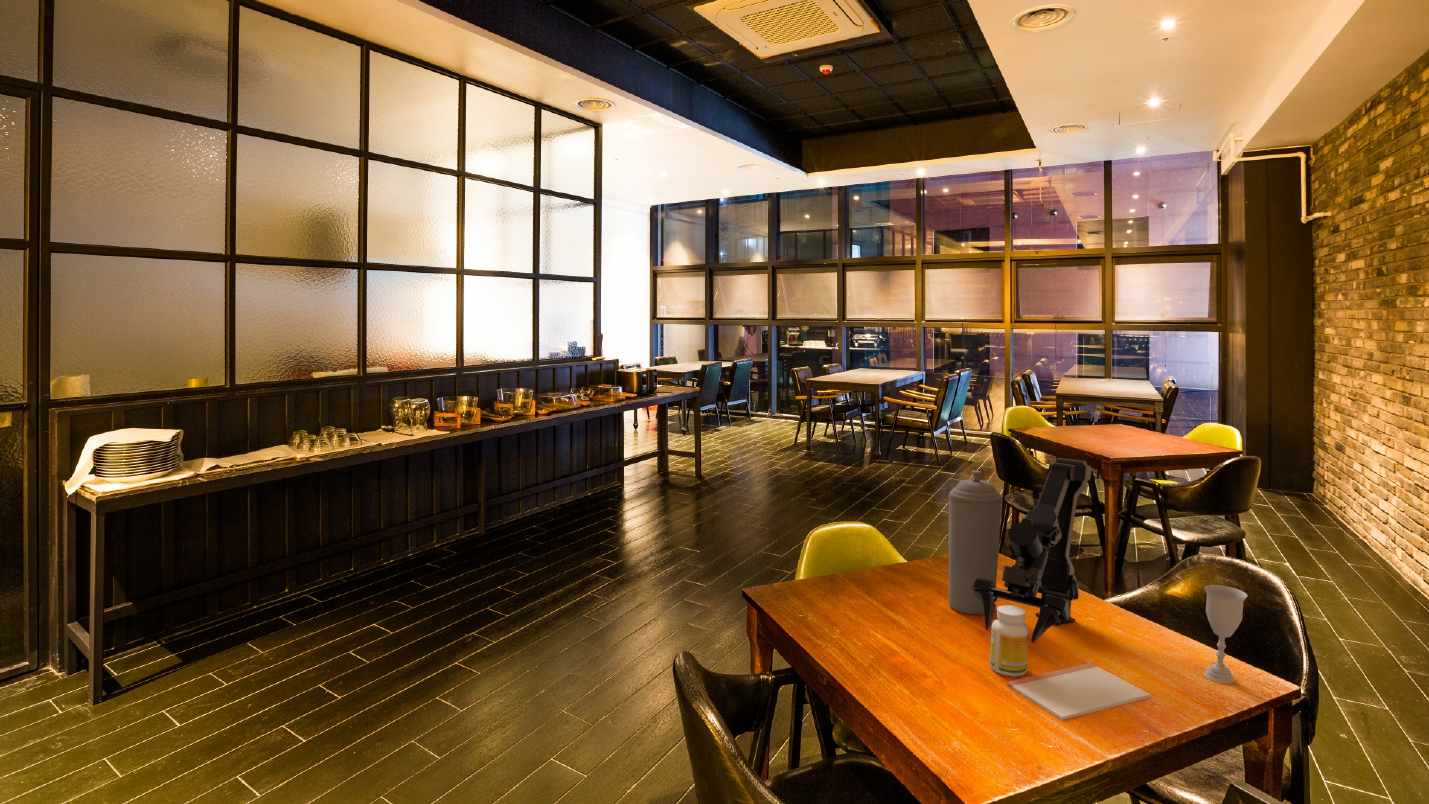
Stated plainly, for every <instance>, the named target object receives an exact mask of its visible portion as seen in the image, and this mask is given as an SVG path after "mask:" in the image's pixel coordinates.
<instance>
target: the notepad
mask: <svg viewBox="0 0 1429 804" xmlns="http://www.w3.org/2000/svg"><path fill="white" fill-rule="evenodd" d="M1006 685H1007V687H1009V688H1011V689H1012V688H1013V689H1012V690H1014V691H1016V692H1017V693H1019V694H1020V693H1021V694H1020V695H1022V696H1023V697H1025V698H1026V699H1028V700H1029V701H1030V702H1032V703H1034V704H1036V705H1037V706H1039V707H1040V708H1042V709H1043V710H1045V711H1047V712H1048V713H1049V714H1052V715H1053V716H1054V717H1056V718H1058V719H1059V720H1060V721H1063V720H1067V719H1068V720H1069V719H1072V718H1075V717H1079V716H1082V715H1087V714H1091V713H1095V712H1099V711H1102V710H1106V709H1110V708H1114V707H1117V706H1121V705H1126V704H1129V703H1133V702H1137V701H1141V700H1145V699H1149V698H1151V694H1150V693H1148V692H1146V691H1144V690H1143V689H1140V688H1139V687H1137V686H1136V685H1133V684H1131V683H1129V682H1127V681H1126V680H1123V679H1122V678H1120V677H1118V676H1116V675H1114V674H1112V673H1110V672H1108V671H1106V670H1104V669H1103V668H1101V667H1099V666H1097V665H1096V664H1094V663H1091V662H1089V663H1084V664H1080V665H1076V666H1071V667H1066V668H1062V669H1057V670H1054V671H1048V672H1044V673H1040V674H1037V675H1031V676H1027V677H1023V678H1018V679H1014V680H1010V681H1006Z"/></svg>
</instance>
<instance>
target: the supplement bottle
mask: <svg viewBox="0 0 1429 804" xmlns="http://www.w3.org/2000/svg"><path fill="white" fill-rule="evenodd" d="M996 617H997V618H996V619H994V620H992V622H991V629H990V630H991V631H990V632H991V633H990V649H989V650H990V651H989V665H990V668H991V670H992V671H994V672H995V673H998V674H999V675H1002V676H1007V677H1011V678H1012V677H1013V678H1018V676H1019V677H1021V676H1024V675H1025V674H1026V673H1027V671H1028V663H1029V662H1028V660H1029V642H1030V628H1029V626H1028V625H1027V624H1026V622H1025V621H1026V611H1025V609H1024V608H1021V607H1019V606H1017V605H1016V606H1015V605H1010V604H1006V605H1005V604H1004V605H1000V606H998V607H996Z"/></svg>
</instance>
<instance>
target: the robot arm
mask: <svg viewBox="0 0 1429 804" xmlns="http://www.w3.org/2000/svg"><path fill="white" fill-rule="evenodd" d="M1091 477H1092V467H1091V466H1090V465H1088V464H1087V461H1085V460H1079V459H1073V458H1062V457H1058V458H1057V460H1055V461H1049V462H1048V469H1047V477H1046V480H1045V482H1044V485H1043V488H1042V491H1041V494H1040V496H1039V499H1038V502H1037V504H1036V507H1034V508H1032V509H1031V510H1029V511H1028V512H1027V514H1026V515H1025V517H1022V520H1021V522H1018V523H1015V524H1013V525H1012V526H1010V528H1009V529H1008V531H1007V534H1008V535H1007V536H1008V537H1007V538H1008V539H1009V541H1010V544H1011V547H1012V549H1013V551H1014V554H1016V556H1017V557H1016V560H1015V563H1014V564H1012V566H1011V565H1010V566H1008V565H1003V571H1002V575H1001V581H1002V582H1004V583H1003V585H1004V587H1005V588H1007V589H1001V588H998V587H997V585H996V586H995V584H994V581H989V580H985V579H980V578H977V579H976V580H975V581H974V582H973V585H972V590H973V592H974V594H975V596H976V598H977V599H978V600H980V601H981V603H982V604H983V605H984V614H983V615H984V629H985V631H990V627H992V623H993V618H994V615H995V611H996V610H997V605H996V603H997V601H998V599H1002V600H1005V601H1010V602H1014V603H1019V604H1023V605H1026V606H1031V607H1035V608H1038V609H1039V612H1035V613H1034V614H1035V616H1036V617H1038V618H1037V621H1036V624H1035V627H1034V629H1033V630H1032V631H1033V632H1032V635H1031V639H1030V641H1031V643H1032V644H1035V643H1036V642H1037V640H1039V638H1041V636H1042V635H1043V634H1044V633H1045V632H1046V631H1047V630H1048V629H1049V628H1051V627H1053V625H1054V626H1059V625H1063V624H1064V625H1065V624H1069V623H1074V622H1076V620H1077V619H1075V618H1073V617H1072V616H1071V607H1072V602H1073V601H1074V600H1079V594H1080V593H1079V592H1080V591H1079V584H1078V580H1077V578H1076V575H1075V567H1074V564H1073V563H1072V561H1071V559H1070V549H1071V544H1072V537H1073V531H1074V530H1073V529H1074V522H1075V516H1076V509H1077V502H1078V498H1079V496H1081V494H1082V493H1083V492H1084V491H1085V490H1086V489H1087V485H1088V481H1090V480H1091ZM1043 546H1044V547H1047V548H1048V550H1046V549H1045V548H1044V547H1043ZM1038 594H1040V595H1041V597H1037V595H1038ZM994 602H995V603H994Z"/></svg>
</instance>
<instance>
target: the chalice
mask: <svg viewBox="0 0 1429 804" xmlns="http://www.w3.org/2000/svg"><path fill="white" fill-rule="evenodd" d="M1204 591H1205V592H1206V603H1205V604H1206V605H1205V614H1206V616H1207V620H1208V622H1209V625H1210V627H1211V630H1212V632H1213V633H1214V634H1215V635H1216V636H1218V642H1217V643H1216V646H1217V648H1218V650H1217V652H1215V655H1216V656H1217V660H1216V662H1215V663H1211V664H1209V665H1208V667H1207V668H1206V671H1204V673H1203V676H1204V677H1206V678H1207V679H1208V680H1210V681H1213V682H1216V683H1219V684H1226V685H1227V684H1228V685H1230V684H1233V683H1235V680H1234V678H1233V674H1232V671H1231V670H1230V668H1229V667H1228V666H1226V665H1225V664H1224V659H1225V657H1227V655H1226V654H1225V649H1226V647H1227V645H1226V641H1225V640H1226V638H1230V637H1232V636H1233V634H1234V633H1235V632H1236V631H1237V630H1238V628H1239V626H1240V624H1241V622H1242V620H1243V611H1244V601H1245V600H1246V599H1247V598H1248V594H1247V593H1246V592H1244V591H1243V590H1240V589H1238V588H1236V587H1231V586H1226V585H1220V584H1209V585H1208V584H1207V585H1205V586H1204Z"/></svg>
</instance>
